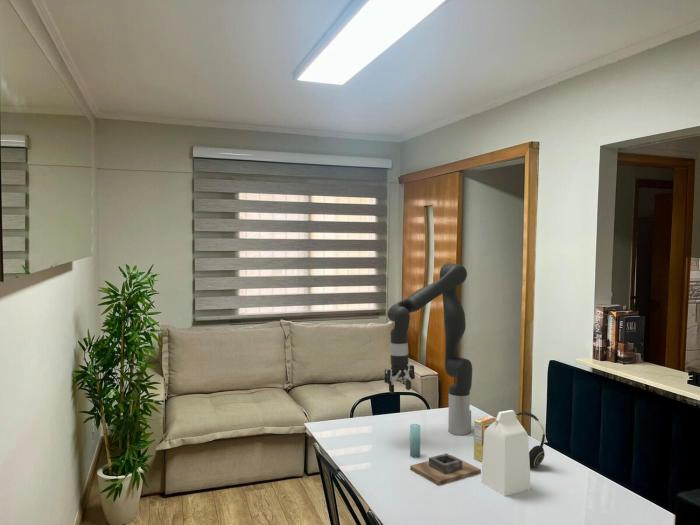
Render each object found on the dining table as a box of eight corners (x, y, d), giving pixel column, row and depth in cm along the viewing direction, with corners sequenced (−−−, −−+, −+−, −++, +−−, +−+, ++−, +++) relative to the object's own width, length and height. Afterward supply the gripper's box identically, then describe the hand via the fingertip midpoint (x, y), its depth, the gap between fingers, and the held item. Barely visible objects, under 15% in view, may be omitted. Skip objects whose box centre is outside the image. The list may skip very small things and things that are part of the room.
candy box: (487, 453, 223) (487, 415, 222) (496, 456, 220) (496, 418, 219) (473, 459, 217) (473, 420, 217) (482, 462, 214) (482, 422, 213)
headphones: (516, 456, 220) (517, 406, 220) (550, 467, 209) (551, 415, 208) (503, 461, 215) (504, 410, 214) (537, 473, 204) (538, 419, 203)
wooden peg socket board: (451, 458, 217) (451, 447, 217) (480, 473, 204) (480, 461, 204) (410, 469, 207) (410, 457, 207) (438, 485, 193) (438, 472, 193)
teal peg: (415, 453, 223) (416, 423, 223) (422, 456, 220) (422, 426, 220) (407, 454, 221) (408, 425, 221) (414, 458, 218) (414, 427, 218)
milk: (504, 495, 186) (505, 418, 185) (481, 482, 196) (481, 409, 195) (530, 488, 191) (531, 413, 190) (507, 476, 201) (507, 404, 200)
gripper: (407, 349, 242) (407, 386, 242) (380, 354, 234) (381, 392, 235) (418, 352, 235) (418, 390, 236) (391, 356, 228) (391, 396, 228)
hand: (400, 391), depth 235 cm, fingers open, 8 cm apart
